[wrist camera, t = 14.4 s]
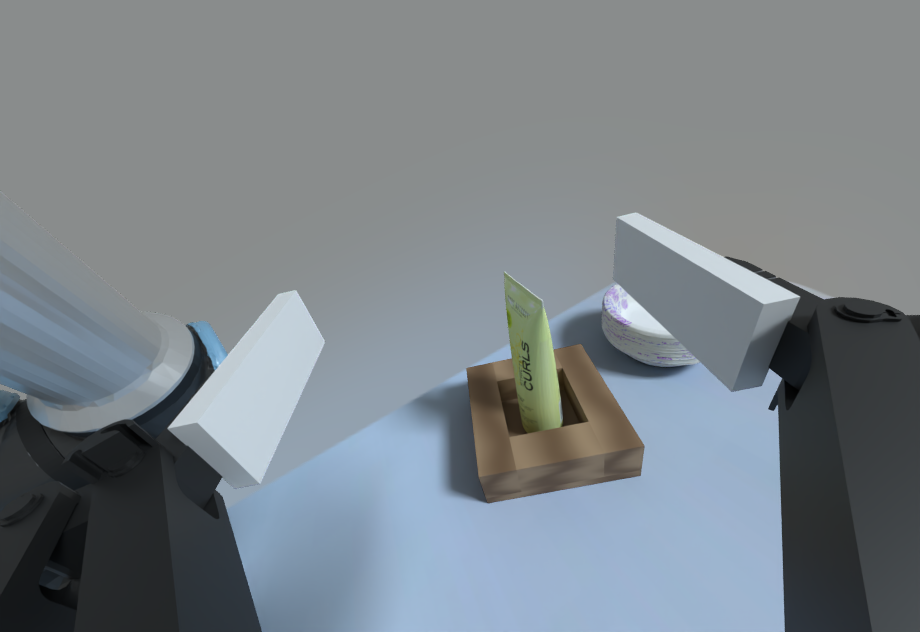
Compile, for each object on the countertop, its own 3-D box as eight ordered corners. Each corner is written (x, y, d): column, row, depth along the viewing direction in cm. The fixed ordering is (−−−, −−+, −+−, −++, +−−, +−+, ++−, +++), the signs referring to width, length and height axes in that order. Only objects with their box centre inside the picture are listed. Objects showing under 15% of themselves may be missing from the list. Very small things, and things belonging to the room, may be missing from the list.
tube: (511, 431, 40) (481, 295, 29) (525, 401, 43) (503, 269, 33) (557, 446, 37) (542, 300, 26) (569, 412, 40) (560, 271, 30)
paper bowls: (751, 375, 40) (770, 323, 36) (621, 389, 43) (624, 342, 38) (687, 309, 53) (695, 265, 48) (590, 323, 55) (589, 282, 51)
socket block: (487, 503, 34) (478, 477, 32) (473, 392, 48) (466, 368, 45) (640, 475, 33) (644, 445, 30) (581, 370, 47) (580, 343, 44)
